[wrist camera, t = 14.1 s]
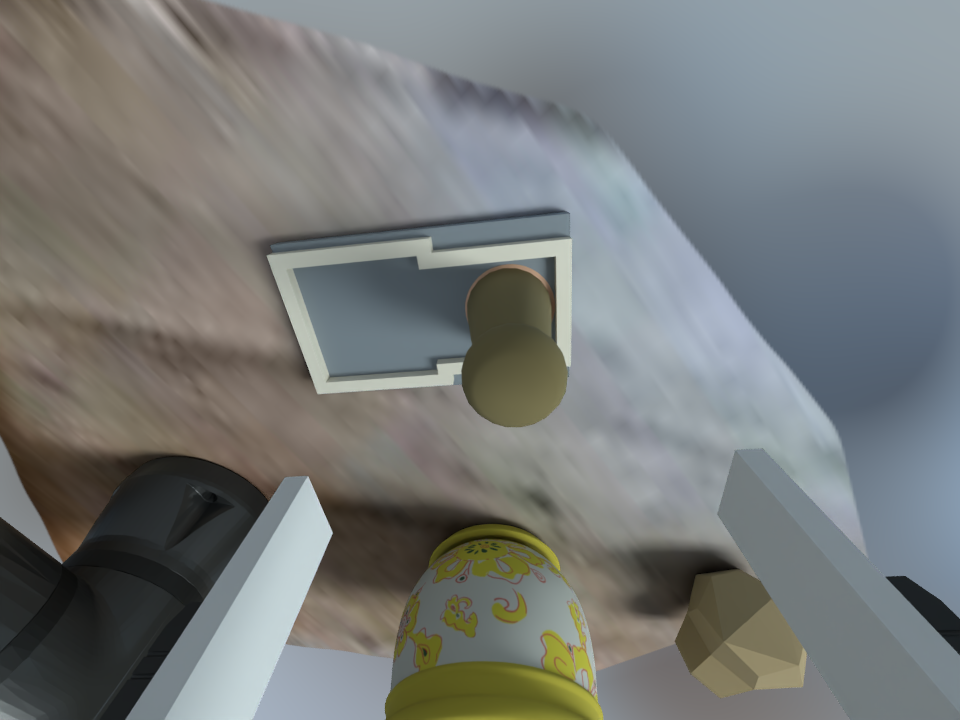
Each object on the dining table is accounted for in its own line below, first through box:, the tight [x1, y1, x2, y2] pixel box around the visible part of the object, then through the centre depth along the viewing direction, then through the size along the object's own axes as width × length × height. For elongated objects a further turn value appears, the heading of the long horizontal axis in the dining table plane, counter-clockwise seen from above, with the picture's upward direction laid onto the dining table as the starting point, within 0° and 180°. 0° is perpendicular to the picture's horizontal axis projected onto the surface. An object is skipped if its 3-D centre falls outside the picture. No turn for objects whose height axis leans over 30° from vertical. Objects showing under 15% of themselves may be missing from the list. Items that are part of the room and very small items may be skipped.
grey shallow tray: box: [267, 212, 572, 394], centre depth 27 cm, size 20×12×2 cm, turn 96°
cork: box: [461, 268, 568, 427], centre depth 22 cm, size 6×6×11 cm
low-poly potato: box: [675, 569, 807, 698], centre depth 38 cm, size 15×11×12 cm
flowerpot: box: [385, 524, 603, 720], centre depth 34 cm, size 18×18×16 cm
